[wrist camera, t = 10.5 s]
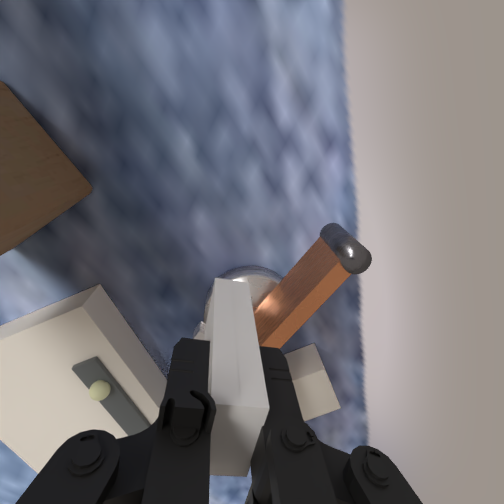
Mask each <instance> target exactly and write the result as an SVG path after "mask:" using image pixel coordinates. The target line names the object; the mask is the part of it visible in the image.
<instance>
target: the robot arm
mask: <svg viewBox="0 0 504 504" xmlns="http://www.w3.org/2000/svg"><path fill="white" fill-rule="evenodd" d="M289 371H290V370H289V366H288V362H287V359H286V357H285V356H284V355H283V353H282V352H281V351H280V349H279V348H274V347H265V346H259V343H258V337H257V331H256V325H255V319H254V313H253V307H252V301H251V295H250V290H249V284H248V283H247V282H240V281H234V280H227V279H221V278H215V281H214V286H213V291H212V296H211V301H210V306H209V311H208V316H207V321H206V326H205V337H204V340H198V339H190V338H181V339H180V341H179V342H178V343H177V344H176V345H175V346H174V350H173V355H172V360H171V364H170V370H169V374H168V379H167V384H166V389H165V394H164V398H163V400H162V402H161V405H160V409H159V415H158V418H157V419H156V421H155V422H154V423H153V424H152V425H151V426H150V427H149V428H147V429H145V430H143V431H142V432H140V433H137V434H134V435H130V436H126V437H122V438H118V439H116V438H115V437H114V435H112V434H110V433H108V432H107V431H105V430H96V429H92V430H88V431H83V432H80V433H78V434H76V435H74V436H72V437H70V438H69V439H67V440H66V441H65V442H64V443H63V444H62V445H61V446H60V447H59V448H58V449H57V450H56V452H55V453H54V454H53V456H52V457H51V458H50V459H49V461H48V462H47V463H46V465H45V466H44V467H43V469H42V470H41V471H40V472H39V474H38V475H37V476H36V478H35V479H34V480H33V481H32V483H31V484H30V485H29V487H28V488H27V489H26V491H25V492H24V493H23V494H22V496H21V497H20V498H19V500H18V501H17V502H16V504H209V478H210V475H220V476H243V477H247V474H248V471H249V468H250V465H251V475H252V484H251V487H250V490H249V493H248V496H247V499H246V501H245V504H423V503H422V502H421V501H420V499H419V498H418V496H417V495H416V494H415V492H414V491H413V490H412V488H411V486H410V485H409V484H408V482H407V481H406V479H405V478H404V477H403V475H402V474H401V473H400V471H399V470H398V468H397V467H396V465H395V464H394V463H393V462H392V461H391V460H390V459H389V457H388V456H386V455H385V454H383V453H382V452H381V451H379V450H378V449H375V448H373V447H370V446H358V447H356V448H355V449H353V451H352V453H351V455H350V454H348V453H345V452H343V451H340V450H338V449H335V448H332V447H330V446H328V445H326V444H324V443H322V442H321V441H319V440H318V439H317V437H316V434H315V432H314V431H313V430H312V429H311V428H310V427H309V426H308V425H307V424H306V423H304V420H303V417H302V413H301V410H300V406H299V402H298V399H297V395H296V391H295V388H294V384H293V382H292V377H291V373H290V372H289Z"/></svg>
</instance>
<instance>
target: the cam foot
mask: <svg viewBox="0 0 504 504" xmlns="http://www.w3.org/2000/svg"><path fill="white" fill-rule="evenodd" d="M371 261H372V257H371V254H370V252H369V251H368V250H367V249H366V248H365V247H364V246H362V245H361V244H360V243H359V242H358V241H357V240H356V239H355V238H353V237H352V236H351V235H350V234H349V233H348V232H347V231H346V230H344V229H343V228H342V227H341V226H340V225H338V224H336V223H330V224H327V225H326V226H324V227H323V228H322V230H321V232H320V237H319V239H318V240H317V241H316V242H315V243H314V244H313V245H312V246H311V248H310V249H309V250H308V251H307V252H306V253H305V254H304V255H303V257H302V258H301V259H300V260H299V261H298V262H297V263H296V265H295V266H294V267H293V268H292V269H291V270H290V271H289V272H288V274H287V275H286V276H285V277H284V278H282V277H281V276H279V275H278V274H277V273H275V272H274V271H272V270H269V269H267V268H264V267H259V266H242V267H238V268H235V269H232V270H230V271H227V272H226V273H224V274H223V275H221V276H220V277H219V278H221V279H227V280H234V281H240V282H247V283H248V284H249V290H250V295H251V301H252V307H253V313H254V319H255V325H256V331H257V337H258V343H259V346H265V347H274V348H279V349H280V348H281V347H282V346H283V345H284V344H285V343H286V342H287V341H288V340H289V339H290V338H291V336H292V335H293V334H294V333H295V332H296V331H297V330H298V329H299V328H300V327H301V326H302V325H303V324H304V323H305V322H306V321H307V320H308V319H309V318H310V317H311V316H312V315H313V314H314V312H315V311H316V310H317V309H318V308H319V307H320V306H321V305H322V304H323V303H324V302H325V301H326V300H327V299H328V298H329V297H330V296H331V295H332V294H333V293H334V292H335V291H336V290H337V288H338V287H339V286H340V285H341V284H342V283H343V282H344V281H345V280H346V279H347V278H348V277H349V276H350V275H351V274H360V273H362V272H364V271H365V270H367V269H368V267H369V266H370V264H371ZM213 286H214V283H213V284H212V286H211V287H210V289H209V291H208V294H207V297H206V303H205V311H204V322H202V321H200V323H199V324H198V325H197V326H196V328H195V329H194V333H193V339H198V340H204V337H205V326H206V321H207V316H208V311H209V306H210V301H211V296H212V291H213Z"/></svg>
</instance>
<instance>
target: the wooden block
mask: <svg viewBox="0 0 504 504" xmlns="http://www.w3.org/2000/svg"><path fill="white" fill-rule="evenodd" d="M92 189H93V188H92V186H91V185H90V183H89V182H88V181H87V180H86V179H85V178H84V176H83V175H82V174H81V173H80V172H79V171H78V169H77V168H76V167H75V166H74V165H73V163H72V162H71V161H70V160H69V159H68V158H67V156H66V155H65V154H64V153H63V152H62V151H61V149H60V148H59V147H58V146H57V145H56V144H55V142H54V141H53V140H52V139H51V138H50V136H49V135H48V134H47V133H46V132H45V131H44V129H43V128H42V127H41V126H40V125H39V124H38V122H37V121H36V120H35V119H34V118H33V117H32V115H31V114H30V113H29V112H28V111H27V109H26V108H25V107H24V106H23V105H22V104H21V102H20V101H19V100H18V99H17V98H16V97H15V95H14V94H13V93H12V92H11V91H10V89H9V88H8V87H7V86H6V85H5V84H4V83H3V82H2V81H0V256H1V255H2V254H4V253H6V252H8V251H9V250H11V249H13V248H14V247H16V246H17V245H19V244H20V243H21V242H23V241H24V240H26V239H27V238H28V237H30V236H31V235H33V234H34V233H35V232H37V231H38V230H40V229H41V228H42V227H44V226H45V225H47V224H48V223H49V222H51V221H52V220H54V219H55V218H56V217H58V216H59V215H61V214H62V213H63V212H65V211H66V210H68V209H69V208H70V207H72V206H73V205H75V204H76V203H77V202H79V201H80V200H82V199H83V198H84V197H86V196H87V195H89V194H90V193H91V191H92Z"/></svg>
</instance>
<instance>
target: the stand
mask: <svg viewBox="0 0 504 504" xmlns="http://www.w3.org/2000/svg"><path fill="white" fill-rule="evenodd" d="M284 356H285V357H286V359H287V362H288V366H289V370H290V371H289V372H290V373H291V377H292V382H293V384H294V388H295V391H296V395H297V399H298V402H299V406H300V410H301V413H302V417H303V420H304V421H307V420H310V419H313V418H315V417H318V416H321V415H324V414H327V413H329V412H332V411H335V410H338V409H341V407H340V405H339V402H338V400H337V397H336V395H335V392H334V390H333V387H332V385H331V382H330V380H329V377H328V375H327V373H326V370H325V368H324V365H323V363H322V360H321V358H320V356H319V353H318V351H317V348H316V346H315V343H313V344H311V345H308V346H305V347H303V348H300V349H297V350H295V351H292V352H289V353H287V354H284ZM166 384H167V379H166V378H165V376H164V375H163V374H162V372H161V371H160V369H159V368H158V366H157V365H156V363H155V362H154V361H153V359H152V358H151V356H150V355H149V353H148V352H147V351H146V349H145V348H144V346H143V345H142V343H141V342H140V341H139V339H138V338H137V336H136V335H135V333H134V332H133V331H132V329H131V328H130V326H129V325H128V323H127V322H126V321H125V319H124V318H123V316H122V315H121V313H120V312H119V311H118V309H117V308H116V306H115V305H114V303H113V302H112V300H111V299H110V298H109V296H108V295H107V293H106V292H105V290H104V289H103V288H102V286H101V285H100V284H99V285H96V286H94V287H91V288H89V289H87V290H84V291H82V292H80V293H77V294H75V295H72V296H70V297H68V298H65V299H63V300H60V301H58V302H56V303H53V304H51V305H49V306H46V307H44V308H41V309H39V310H37V311H34V312H32V313H29V314H27V315H25V316H22V317H20V318H17V319H15V320H13V321H10V322H8V323H6V324H3V325H1V326H0V440H1V441H2V442H4V443H5V444H6V445H7V446H8V447H9V448H10V449H11V450H12V451H13V452H15V453H16V454H17V455H18V456H19V457H20V458H21V459H22V460H23V461H25V462H26V463H27V464H28V465H29V466H30V467H31V468H32V469H33V470H35V471H36V472H37V473H38V474H39V472H40V471H41V470H42V469H43V467H44V466H45V465H46V463H47V462H48V461H49V459H50V458H51V457H52V456H53V454H54V453H55V452H56V450H57V449H58V448H59V447H60V446H61V445H62V444H63V443H64V442H65V441H66V440H67V439H69V438H70V437H72V436H74V435H76V434H78V433H80V432H83V431H88V430H92V429H96V430H105V431H107V432H108V433H110V434H112V435H114V437H115V438H116V439H118V438H122V437H126V436H130V435H134V434H137V433H140V432H142V431H143V430H145V429H147V428H149V427H150V426H151V425H152V424H153V423H154V422H155V421H156V419H157V418H158V415H159V409H160V405H161V402H162V400H163V398H164V394H165V389H166Z"/></svg>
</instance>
